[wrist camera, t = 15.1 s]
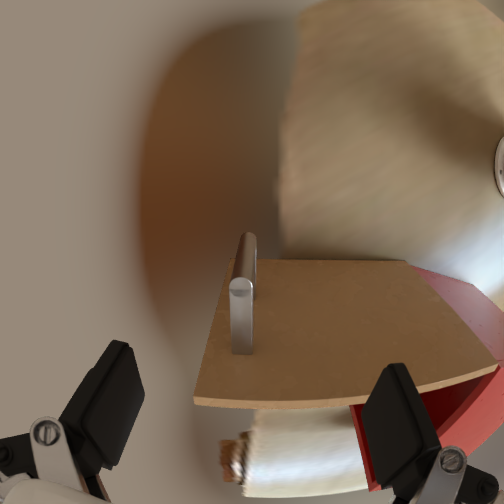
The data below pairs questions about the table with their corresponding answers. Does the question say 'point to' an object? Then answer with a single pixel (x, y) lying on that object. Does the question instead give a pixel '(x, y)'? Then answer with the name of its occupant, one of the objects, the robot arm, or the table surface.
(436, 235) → the table surface
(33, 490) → the robot arm
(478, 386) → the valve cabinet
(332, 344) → the door
